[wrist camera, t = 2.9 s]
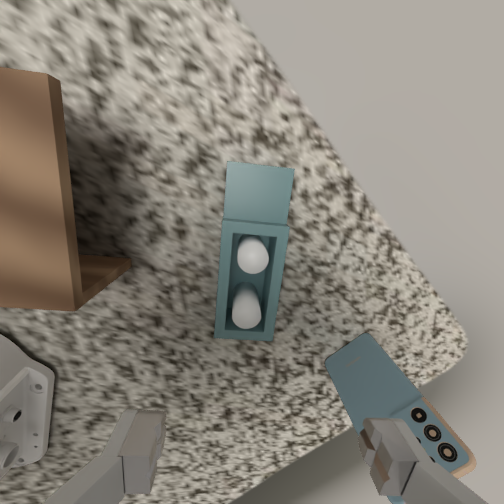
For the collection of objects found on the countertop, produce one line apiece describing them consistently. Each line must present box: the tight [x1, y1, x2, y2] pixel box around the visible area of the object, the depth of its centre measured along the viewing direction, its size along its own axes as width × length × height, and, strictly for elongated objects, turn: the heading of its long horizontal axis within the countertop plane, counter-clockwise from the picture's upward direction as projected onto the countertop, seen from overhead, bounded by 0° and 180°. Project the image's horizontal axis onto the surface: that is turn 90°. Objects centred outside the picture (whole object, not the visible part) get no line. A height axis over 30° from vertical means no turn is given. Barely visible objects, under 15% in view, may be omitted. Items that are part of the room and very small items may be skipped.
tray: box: [214, 161, 295, 341], centre depth 24 cm, size 17×6×6 cm, turn 174°
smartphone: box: [325, 333, 476, 504], centre depth 24 cm, size 7×1×15 cm, turn 130°
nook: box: [0, 67, 131, 311], centre depth 19 cm, size 15×12×10 cm
